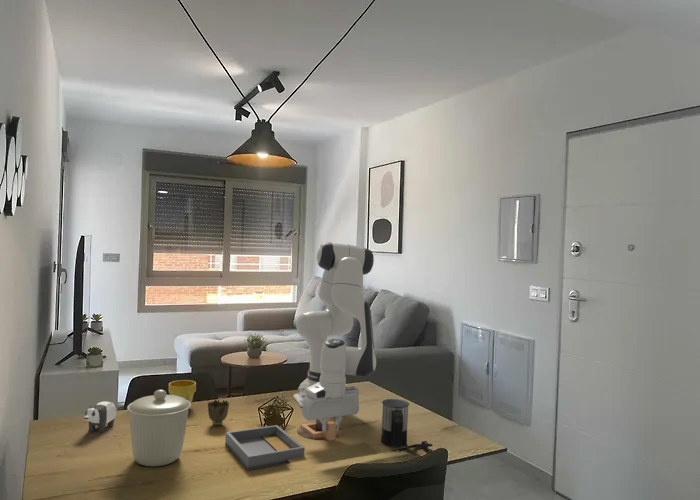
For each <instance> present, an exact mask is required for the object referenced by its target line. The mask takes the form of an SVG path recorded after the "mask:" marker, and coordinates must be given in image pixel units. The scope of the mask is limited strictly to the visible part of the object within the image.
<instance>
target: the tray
mask: <svg viewBox="0 0 700 500" xmlns="http://www.w3.org/2000/svg"><path fill="white" fill-rule="evenodd" d="M271 435H276V436H277V437H278V438H279V439H281V440H282V441H283V443H286V445H288V446H289V448H287V449H280V450H277V449H276V448H275V447H274V446H273V445H272V444H271V443H270V442H269V441H268V440H266V438H264V437H263V436H271ZM225 446H226V447H227V448H228V450H230V452H231V453H232V454H233V455H234V456H235V457H236V458H237V460H238V461H239V462H240V463H241V464H242V466H243V467H244V468H245V469H246V470H247V471H252V470H258V469H265V468H269V467H270V468H271V467H276V466H281V465H287V464H291V462H290V461H289V460H288V459H294V458H299V457H300V458H301V457H304V456H305V446H303V445H302V444H301V443H300V442H299V441H297V440H296V439H295V438H294V437H293V436H292V435H290V434H289V433H288V432H286V430H284V429H283V428H282V427H280V426H279V425H278V424H275V425H268V426H260V427H252V428H245V429H239V430H231V431H226V432H225Z"/></svg>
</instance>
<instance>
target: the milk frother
mask: <svg viewBox="0 0 700 500" xmlns="http://www.w3.org/2000/svg"><path fill="white" fill-rule="evenodd" d="M381 403H382V417H381V418H382V419H381V438H380V442H381V444H383V445H385V446H387V447H393V448H395V449H392V450H391V451H392V452H393V451H397V452H398V451H404V450H405V451H406V449H413V448H414V449H415V448H421V450H428V448H429V447H433V443H428V441H427V440H424V441H421V442H420V443H418V444H417V443H416V444H411V445H408V419H409V406H410V403H409V401H406V400H404V399H397V398H389V399H388V398H387V399H384V400H382V402H381Z"/></svg>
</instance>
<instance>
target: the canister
mask: <svg viewBox="0 0 700 500" xmlns="http://www.w3.org/2000/svg"><path fill="white" fill-rule="evenodd" d="M190 407H192V404H191V403H190V402H189V401H188V400H186V399H184V398H182V397H180V396H175V395H170V394H167V392H166V390H164V389H157V390H155V391H154V392H153V395H147V396H142V397H140V398H137V399H135V400H134V401H133V402H131V403H129V404H128V405H127V407H126V410H127V412H128V414H129V426H130V437H131V439H130V440H131V448H132V455H133V458H134V460H135V462H136V463H138V464H139V465H141V466H146V467H162V466H166V465H169V464H171V463H174V462H175V461H176V460H178V459H179V457H180V456H181V454H182V452H183V446H184V440H185V434H186V429H187V422H188V416H189V408H190ZM190 409H191V408H190Z"/></svg>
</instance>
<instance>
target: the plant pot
mask: <svg viewBox="0 0 700 500" xmlns="http://www.w3.org/2000/svg"><path fill="white" fill-rule="evenodd" d="M196 392H197V383H196V381H194V380H191V379H190V380H189V379H188V380H187V379H180V380H174V381H171V382H169V383H168V393H169V395H175V396H180V397H182V398H184V399H186V400H188V401H189V402H190V403H191V405H192V403H193V398H194V394H195V393H196ZM191 407H192V406H191ZM191 407H190V408H189V409H191ZM189 409H188V410H189Z"/></svg>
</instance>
